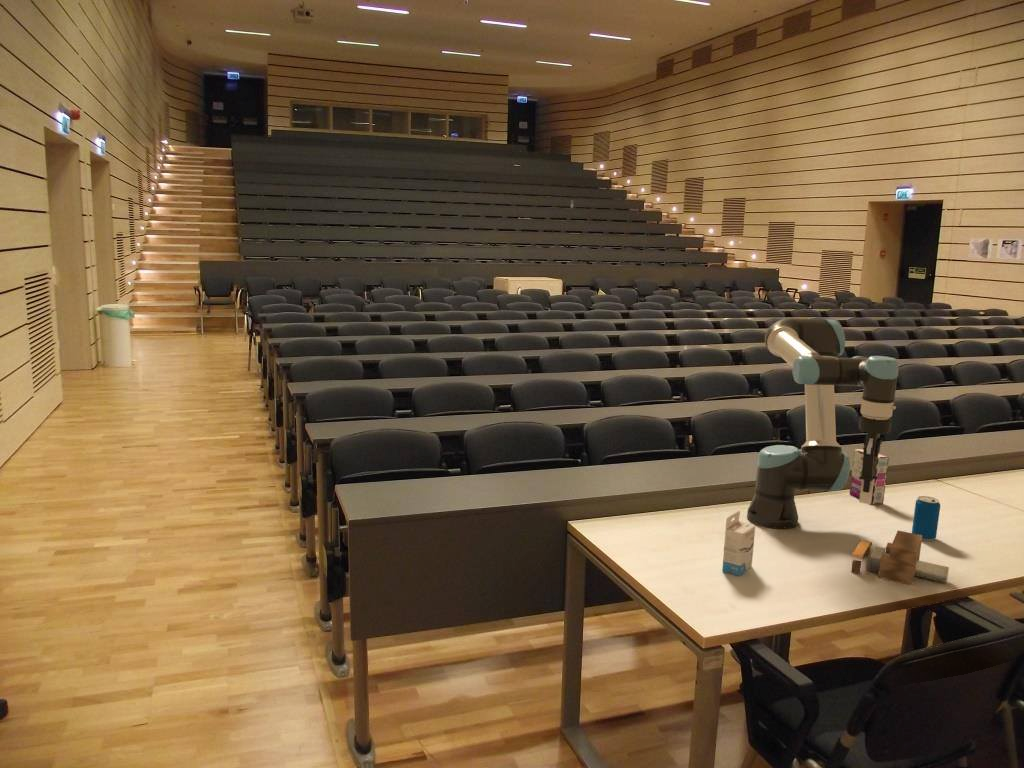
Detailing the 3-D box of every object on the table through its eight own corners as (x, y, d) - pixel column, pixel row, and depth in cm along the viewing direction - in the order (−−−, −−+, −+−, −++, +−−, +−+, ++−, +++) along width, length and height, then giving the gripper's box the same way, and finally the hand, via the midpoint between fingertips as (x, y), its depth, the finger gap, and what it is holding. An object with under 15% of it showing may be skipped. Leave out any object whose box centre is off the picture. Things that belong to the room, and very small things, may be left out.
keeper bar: (851, 556, 205) (851, 552, 205) (860, 542, 218) (860, 539, 218) (863, 559, 204) (863, 555, 204) (871, 545, 216) (872, 541, 216)
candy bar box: (884, 504, 261) (890, 456, 258) (872, 505, 259) (877, 457, 256) (860, 493, 271) (865, 448, 268) (848, 494, 270) (853, 448, 267)
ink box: (739, 576, 201) (744, 522, 198) (721, 571, 204) (725, 518, 201) (752, 566, 207) (757, 514, 205) (734, 561, 210) (739, 509, 208)
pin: (868, 570, 206) (870, 556, 206) (873, 559, 214) (875, 545, 213) (945, 588, 197) (947, 573, 196) (947, 576, 204) (949, 561, 204)
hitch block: (850, 571, 206) (854, 539, 204) (860, 552, 219) (864, 522, 217) (912, 586, 198) (916, 553, 196) (918, 565, 211) (922, 533, 210)
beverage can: (938, 542, 228) (944, 503, 225) (915, 540, 229) (920, 501, 227) (931, 534, 234) (936, 496, 232) (908, 532, 235) (913, 494, 233)
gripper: (888, 423, 194) (876, 512, 199) (895, 413, 205) (884, 498, 209) (856, 418, 198) (845, 506, 203) (864, 409, 209) (854, 492, 213)
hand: (865, 502), depth 206 cm, fingers closed
